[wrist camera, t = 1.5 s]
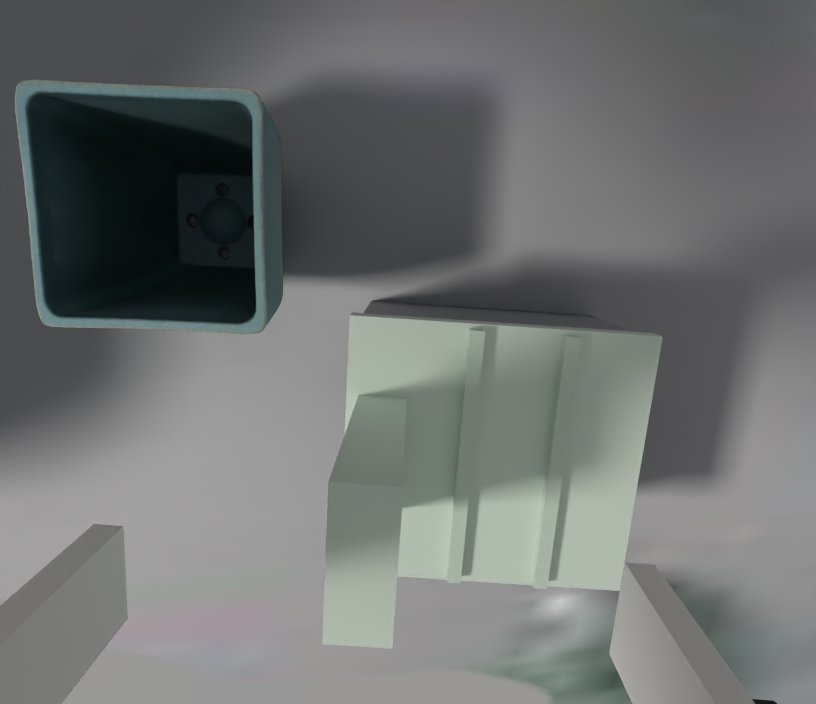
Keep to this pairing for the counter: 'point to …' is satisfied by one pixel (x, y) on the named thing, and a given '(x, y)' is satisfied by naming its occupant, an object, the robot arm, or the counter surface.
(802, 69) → the counter surface
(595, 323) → the tub
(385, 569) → the lid
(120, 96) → the flower pot
